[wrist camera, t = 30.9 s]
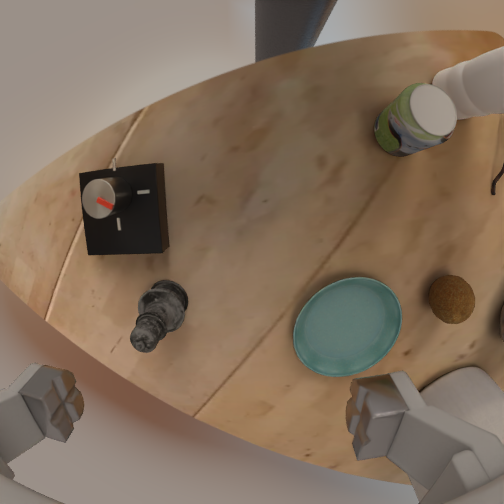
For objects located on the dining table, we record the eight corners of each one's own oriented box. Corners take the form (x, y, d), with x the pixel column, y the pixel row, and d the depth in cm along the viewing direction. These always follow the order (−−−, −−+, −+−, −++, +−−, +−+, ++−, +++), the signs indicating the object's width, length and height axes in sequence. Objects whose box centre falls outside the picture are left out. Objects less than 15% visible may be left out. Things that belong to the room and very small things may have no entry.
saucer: (320, 382, 42) (323, 393, 39) (269, 307, 39) (270, 317, 36) (407, 332, 40) (414, 341, 37) (371, 248, 36) (379, 254, 34)
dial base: (90, 163, 34) (77, 164, 31) (163, 154, 34) (154, 153, 31) (98, 249, 37) (87, 255, 34) (169, 246, 37) (162, 253, 34)
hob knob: (96, 203, 32) (75, 209, 28) (108, 171, 31) (88, 173, 27) (124, 217, 33) (105, 226, 28) (137, 185, 32) (119, 189, 27)
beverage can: (400, 166, 34) (455, 170, 22) (353, 129, 33) (397, 115, 21) (422, 128, 32) (480, 119, 21) (378, 91, 31) (426, 65, 20)
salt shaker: (182, 326, 40) (159, 382, 28) (142, 309, 39) (106, 359, 27) (196, 288, 38) (173, 338, 26) (153, 270, 38) (115, 313, 26)
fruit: (460, 274, 37) (491, 295, 30) (441, 312, 39) (469, 338, 31) (431, 261, 37) (463, 282, 29) (412, 302, 38) (439, 329, 31)
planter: (490, 398, 45) (534, 455, 26) (409, 458, 49) (437, 525, 30) (474, 340, 40) (541, 408, 21) (372, 416, 44) (407, 508, 25)
